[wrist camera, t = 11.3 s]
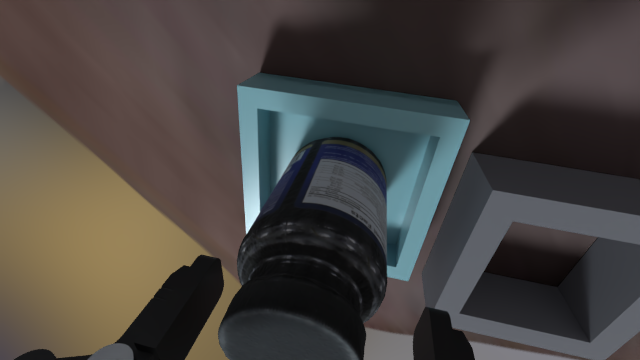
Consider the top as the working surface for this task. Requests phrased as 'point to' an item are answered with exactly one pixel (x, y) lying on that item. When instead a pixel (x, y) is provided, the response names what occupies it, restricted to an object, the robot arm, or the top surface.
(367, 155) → the pill bottle
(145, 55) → the top surface
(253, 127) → the tray
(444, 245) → the holder
